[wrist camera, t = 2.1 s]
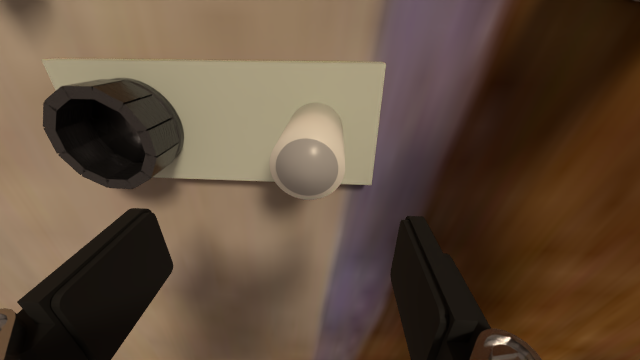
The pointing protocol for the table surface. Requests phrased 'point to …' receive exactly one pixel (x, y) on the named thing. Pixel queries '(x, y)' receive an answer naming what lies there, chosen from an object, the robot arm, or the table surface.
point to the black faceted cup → (113, 130)
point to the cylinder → (310, 153)
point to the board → (247, 108)
